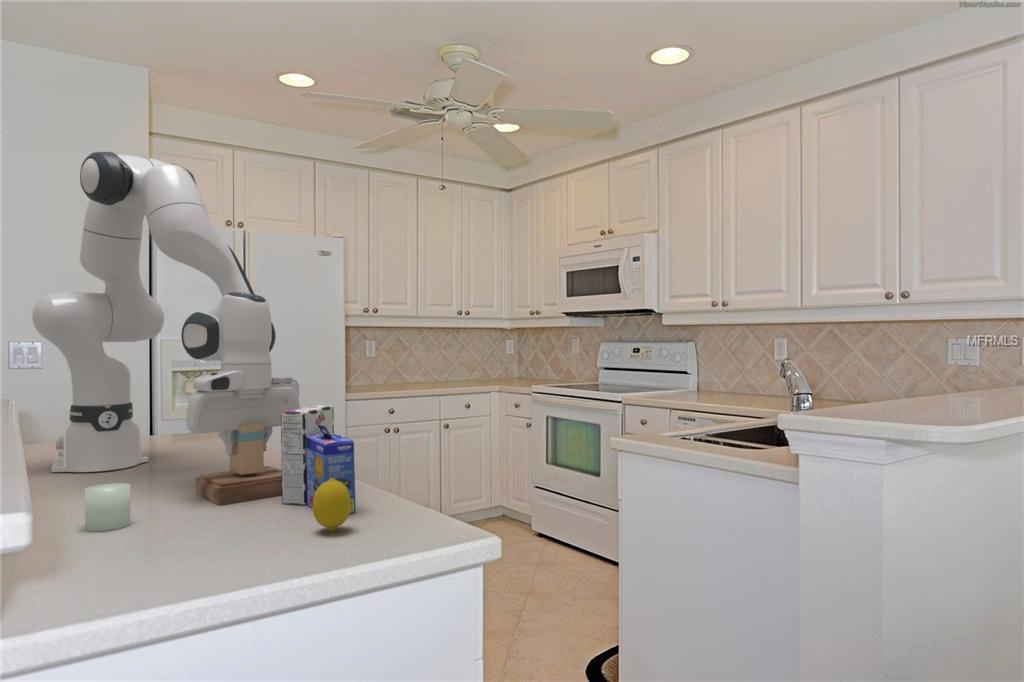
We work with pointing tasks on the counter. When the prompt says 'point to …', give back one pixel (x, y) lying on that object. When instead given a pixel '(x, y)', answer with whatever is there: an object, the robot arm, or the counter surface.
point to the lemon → (331, 504)
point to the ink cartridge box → (330, 463)
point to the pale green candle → (107, 507)
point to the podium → (239, 486)
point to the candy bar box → (300, 447)
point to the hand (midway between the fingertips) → (246, 452)
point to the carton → (248, 449)
